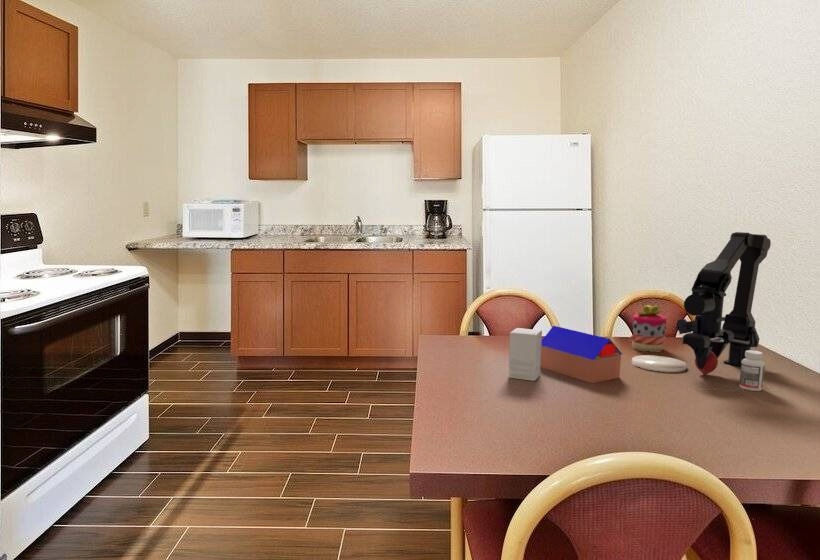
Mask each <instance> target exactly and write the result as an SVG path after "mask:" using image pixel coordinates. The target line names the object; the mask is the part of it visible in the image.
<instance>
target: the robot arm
mask: <svg viewBox="0 0 820 560" xmlns="http://www.w3.org/2000/svg"><path fill="white" fill-rule="evenodd" d="M771 245H772V244H771V239H770V238H768V236H767V235H766V234H758V233H757V234H755V233H750V232H744V231H743V232H741V231H735V232H732V233H731V234H730V238H729V241H728V242H727V243H726V244H725V246H724V247H723V249H722V250H721V252H720V253H719V255H718V256H717V257H716V259H715V260H713V261H711V262H709V263H706V265H704V266H703V267H702V268H701V269H700V270H699V272H698V273H697V276H696V278H695V281H694V283H693V285H692V287H691V294H690V295H688V296H686V298H685V299H684V302H683V308H684V311H685V312H686V313H687V314H689V315H690V316H694V320H690V321H688V320H686V319H685V318H681V319H677V320H676V323H675V325H676V326H675V327H674V328H675V330H677V331H678V333H679V335H682V339H681V343H682V345H687V346H688V347H690V348H691V349H692V350H693V353H694V356H695V358H696V361H697V365H698V368H699V369H703V367H704V365H705V363H706V361H707V359H708V356H709V354H710V352H711V351H712V352H713V353H714V354H715V355H716V357H717V359H719V357H720V356H721V354H722V353H723V352H724V350H725V349H726V347H727V345H729V346H728V355H727V356H728V358H727V359H724V360H723V362H722V363H724V364H728V365H734V366H738V367H741V362H742V360H743V359H745V358H746V357H745V351H747V350H751V349H752V348H758V346H759V343H760V337H759V334H758V332H757V328H756V320H755V318H754V316H753V314H752V307H753V302H754V296H755V292H756V291H755V290H756V284H757V278H758V273H759V266H760V264H761V263H762V262H763V261H764V260H765V259H766V258H767V256H768V251H769V250H770V249H771ZM739 260H740V265H739V274H738V279H737V284H736V290H735V295H734V303H733V309H732V310H731V311H730V312H729V313H727V314H725V316H723V310H724V302H725V301H724V298H725V297H726V296H727V293H726V291H727V290H728V287H730V284H731V282H732V279H733V277H732V273H731V272H732V271H733V269H734V268H735V266H736V265H737V263H738V261H739ZM722 322H723V324H722ZM683 334H684V335H683ZM698 368H697V369H698Z"/></svg>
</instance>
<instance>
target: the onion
mask: <svg viewBox="0 0 820 560" xmlns="http://www.w3.org/2000/svg"><path fill="white" fill-rule="evenodd" d="M718 359H719V358H718ZM718 359H717V357H716V355H715V354H714V353H713V352H712V351H711V352H710V354H709V356H708V359H707V361H706V363H705V365H704V367H703V369H699V368H698V365H697V361H696V357H695V359H694V365H695V367H696V369H697V370H698V371H699V372H700V373H701V374H702V375H708V374H710V373H712V372H714V371H715V370H716V369H717V368H718V364H719V360H718Z"/></svg>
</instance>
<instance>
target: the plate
mask: <svg viewBox="0 0 820 560" xmlns="http://www.w3.org/2000/svg"><path fill="white" fill-rule="evenodd" d="M631 364H632V365H633V366H635V367H637V368H639V367H640V369H643V370H647V371H652V370H653V372H658V371H659V372H660V373H681V372H684V371H686V370H687V365H688V364H687V363H686V362H685V361H683V360H680V359H679V358H678V359H677V358H674V357H669V356H663V355H661V356H660V355H652V354H651V355H648V354H647V355H645V354H644V355H641V354H640V355H635V356H632V358H631ZM659 372H658V373H659Z"/></svg>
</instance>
